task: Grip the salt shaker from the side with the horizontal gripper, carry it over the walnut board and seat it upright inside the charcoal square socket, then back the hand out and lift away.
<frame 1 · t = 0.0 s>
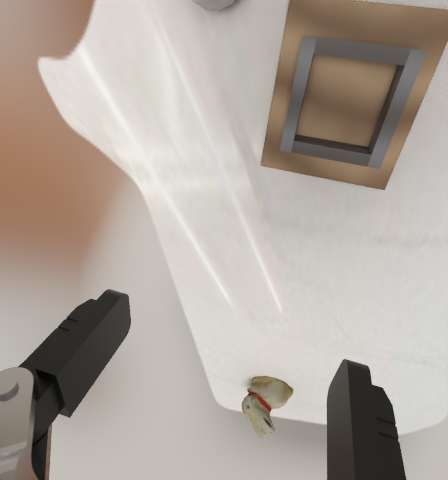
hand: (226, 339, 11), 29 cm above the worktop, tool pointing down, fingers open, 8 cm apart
socket board: (341, 100, 32), on the worktop
chocolate bunny: (270, 383, 59), on the worktop
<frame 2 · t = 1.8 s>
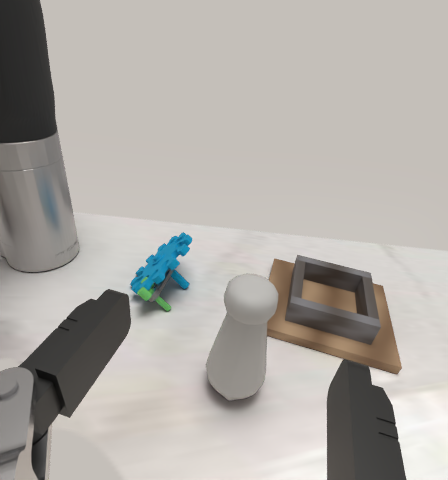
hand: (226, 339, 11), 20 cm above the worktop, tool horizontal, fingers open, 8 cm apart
blue toy brick model: (160, 287, 42), on the worktop
socket board: (324, 310, 41), on the worktop
salt shaker: (232, 382, 31), on the worktop
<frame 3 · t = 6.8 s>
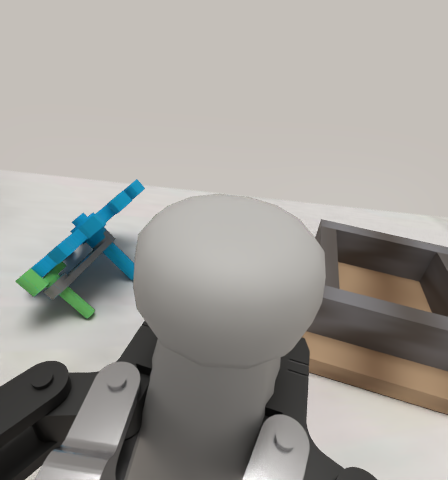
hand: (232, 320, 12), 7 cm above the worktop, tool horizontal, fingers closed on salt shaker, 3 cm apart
blue toy brick model: (91, 275, 24), on the worktop
socket board: (371, 311, 24), on the worktop
salt shaker: (197, 478, 14), on the worktop, touching gripper
when the fingers open (9 cm above the worktop, at t = 11.4 s): salt shaker drops 1 cm, resting on socket board.
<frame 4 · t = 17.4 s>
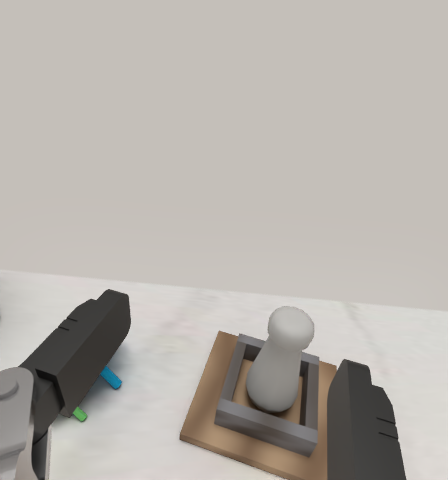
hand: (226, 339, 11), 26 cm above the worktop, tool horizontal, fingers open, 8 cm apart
blue toy brick model: (90, 381, 36), on the worktop
socket board: (265, 401, 36), on the worktop
salt shaker: (267, 397, 36), point 1 cm above the worktop, touching socket board
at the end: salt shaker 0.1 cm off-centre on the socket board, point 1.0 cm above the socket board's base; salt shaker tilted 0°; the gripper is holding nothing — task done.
